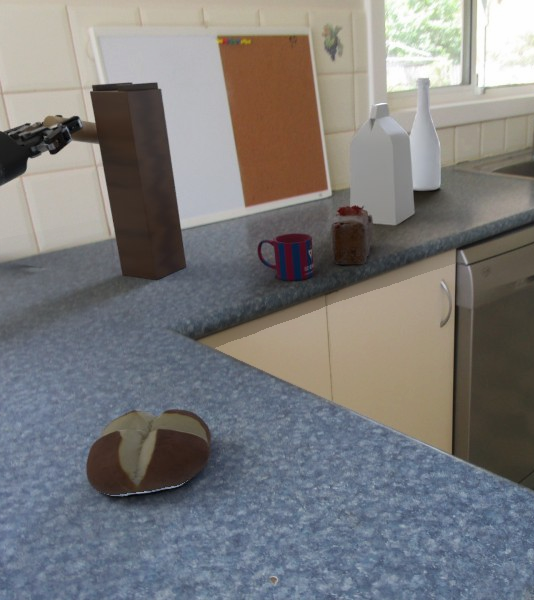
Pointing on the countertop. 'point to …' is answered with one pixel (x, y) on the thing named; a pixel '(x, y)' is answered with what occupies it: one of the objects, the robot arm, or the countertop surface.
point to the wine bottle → (424, 143)
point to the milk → (382, 169)
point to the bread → (148, 452)
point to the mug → (291, 256)
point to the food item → (351, 235)
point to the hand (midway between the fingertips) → (70, 120)
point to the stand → (139, 178)
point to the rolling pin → (82, 135)
